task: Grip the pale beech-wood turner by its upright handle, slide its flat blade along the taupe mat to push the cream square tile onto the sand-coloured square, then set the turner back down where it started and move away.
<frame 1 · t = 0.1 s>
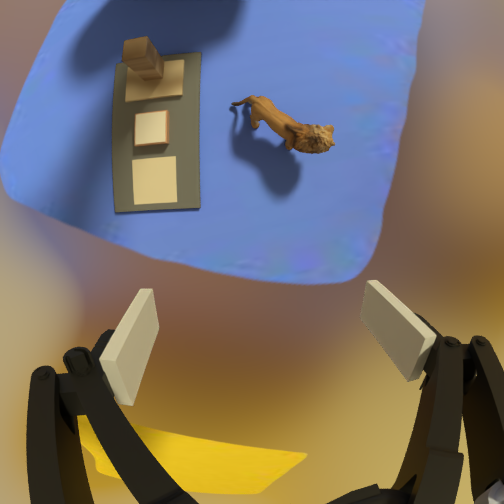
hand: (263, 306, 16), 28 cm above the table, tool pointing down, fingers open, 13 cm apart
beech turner: (154, 81, 34), point 1 cm above the table, touching taupe mat
taupe mat: (154, 129, 37), on the table
cream square tile: (153, 129, 37), point 1 cm above the table, touching taupe mat
lion figurine: (278, 125, 39), on the table
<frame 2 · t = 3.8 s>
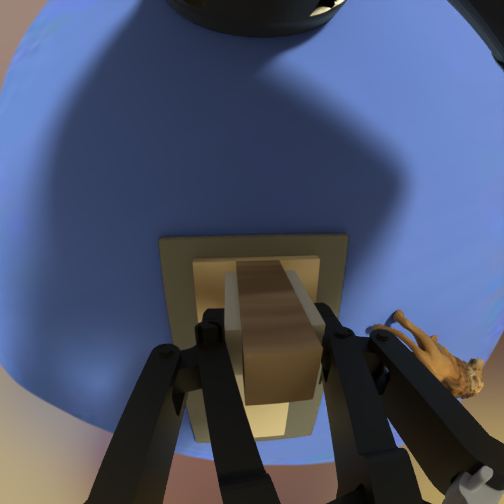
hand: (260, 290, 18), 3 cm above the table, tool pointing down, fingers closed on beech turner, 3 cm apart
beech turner: (256, 294, 21), point 1 cm above the table, touching taupe mat, gripper
taupe mat: (254, 367, 24), on the table
lion figurine: (417, 337, 25), on the table
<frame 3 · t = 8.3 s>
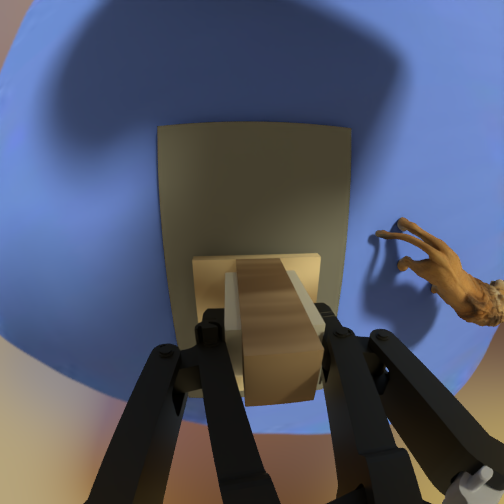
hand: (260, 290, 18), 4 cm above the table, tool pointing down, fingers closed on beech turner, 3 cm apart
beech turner: (256, 292, 21), point 1 cm above the table, touching gripper
taupe mat: (256, 285, 22), on the table
lion figurine: (427, 259, 23), on the table
when the fingers open (5 cm above the table, at t = 13.8 s): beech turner drops 2 cm, resting on taupe mat.
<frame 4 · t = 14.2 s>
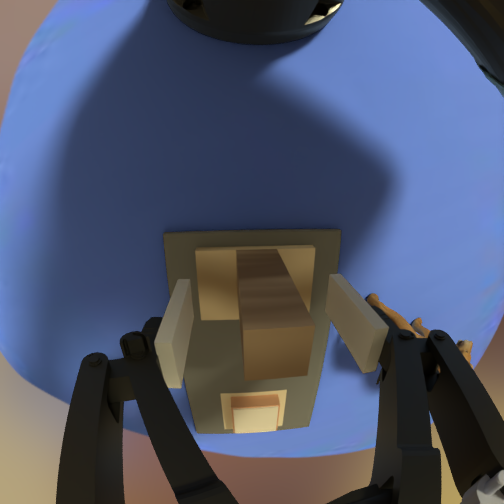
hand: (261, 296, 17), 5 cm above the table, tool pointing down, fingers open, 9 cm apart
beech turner: (255, 281, 22), point 1 cm above the table, touching taupe mat
taupe mat: (253, 357, 25), on the table
cream square tile: (254, 409, 27), point 1 cm above the table, touching taupe mat
lion figurine: (398, 320, 26), on the table
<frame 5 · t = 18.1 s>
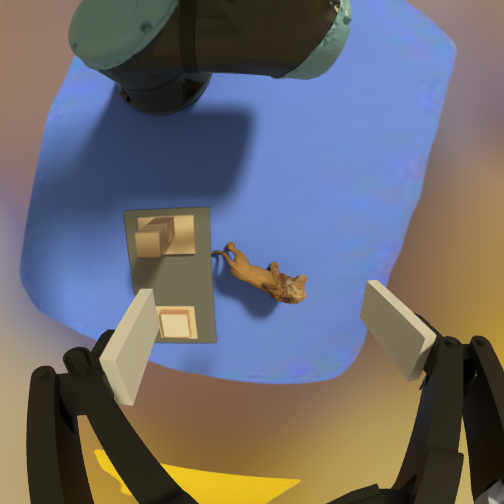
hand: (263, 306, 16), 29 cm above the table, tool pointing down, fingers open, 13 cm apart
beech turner: (166, 234, 43), point 1 cm above the table, touching taupe mat
taupe mat: (172, 281, 46), on the table
cream square tile: (176, 321, 48), point 1 cm above the table, touching taupe mat
lion figurine: (258, 263, 46), on the table
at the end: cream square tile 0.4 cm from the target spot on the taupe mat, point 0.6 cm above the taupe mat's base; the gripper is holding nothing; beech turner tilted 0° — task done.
